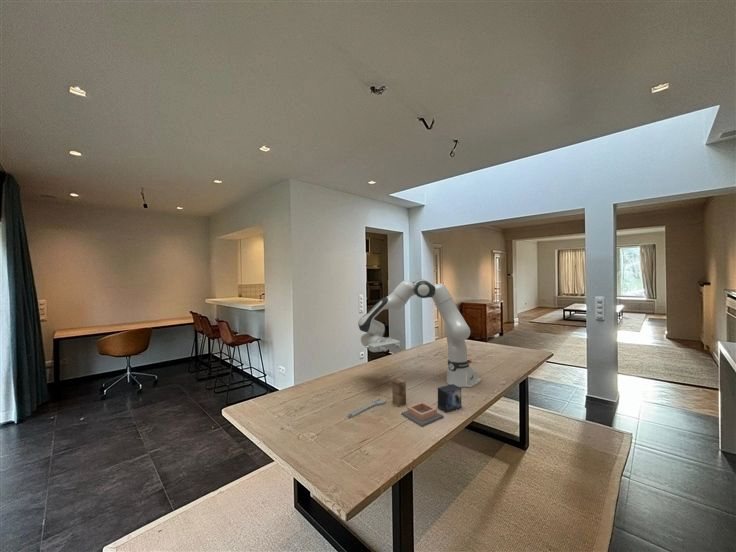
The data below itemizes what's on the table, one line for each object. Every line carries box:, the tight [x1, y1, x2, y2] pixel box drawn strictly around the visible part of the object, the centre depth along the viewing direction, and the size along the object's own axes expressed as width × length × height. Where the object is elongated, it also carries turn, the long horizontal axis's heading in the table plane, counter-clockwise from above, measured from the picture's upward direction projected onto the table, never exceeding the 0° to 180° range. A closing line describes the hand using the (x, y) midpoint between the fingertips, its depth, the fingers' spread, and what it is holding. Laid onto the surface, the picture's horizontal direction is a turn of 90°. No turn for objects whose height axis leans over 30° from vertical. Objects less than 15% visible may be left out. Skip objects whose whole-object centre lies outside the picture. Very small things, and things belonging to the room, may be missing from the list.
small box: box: [437, 384, 463, 413], centre depth 146 cm, size 11×6×10 cm, turn 115°
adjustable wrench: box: [347, 397, 387, 419], centre depth 148 cm, size 25×6×2 cm, turn 131°
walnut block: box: [391, 378, 407, 408], centre depth 152 cm, size 5×5×12 cm
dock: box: [400, 401, 445, 428], centre depth 138 cm, size 14×14×4 cm
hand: (392, 348), depth 166 cm, fingers open, 8 cm apart
